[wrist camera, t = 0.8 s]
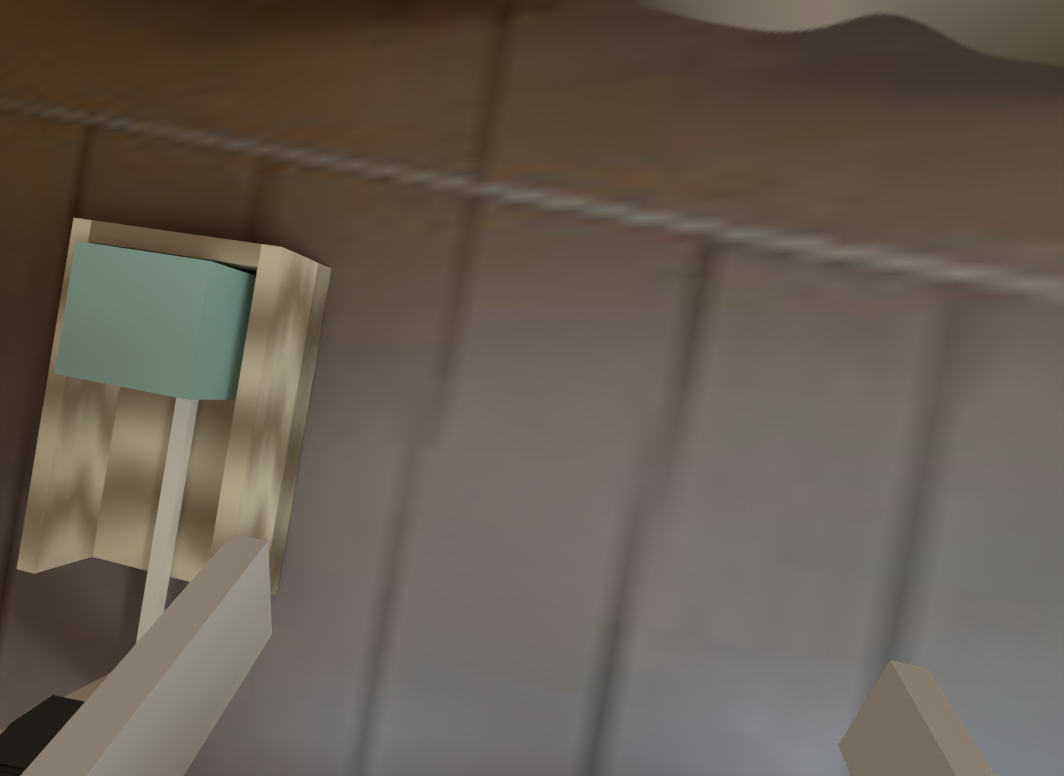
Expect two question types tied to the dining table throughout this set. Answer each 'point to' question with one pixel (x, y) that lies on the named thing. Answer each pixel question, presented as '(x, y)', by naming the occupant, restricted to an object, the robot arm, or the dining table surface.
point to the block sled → (156, 360)
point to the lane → (146, 419)
